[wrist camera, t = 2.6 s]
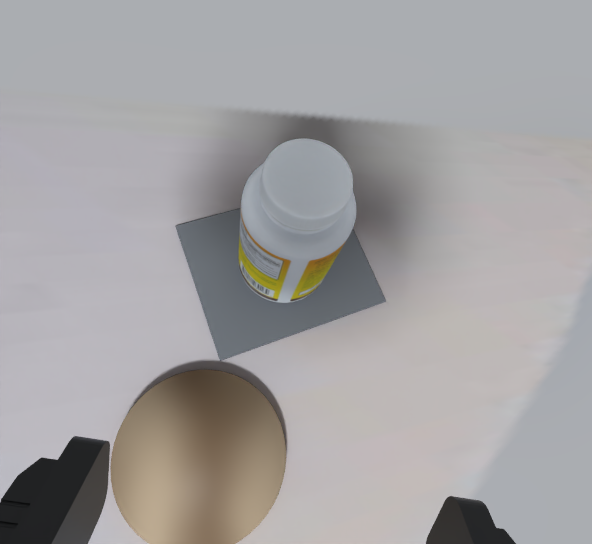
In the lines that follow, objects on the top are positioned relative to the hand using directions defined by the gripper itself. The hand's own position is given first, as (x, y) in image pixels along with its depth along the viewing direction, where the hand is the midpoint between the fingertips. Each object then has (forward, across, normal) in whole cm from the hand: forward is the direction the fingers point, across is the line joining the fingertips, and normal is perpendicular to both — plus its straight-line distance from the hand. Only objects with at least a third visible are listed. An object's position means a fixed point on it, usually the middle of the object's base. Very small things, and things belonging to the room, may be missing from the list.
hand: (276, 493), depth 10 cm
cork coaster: (+10, +2, +10) cm, 15 cm away
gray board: (+19, 0, +2) cm, 19 cm away
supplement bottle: (+19, 0, +2) cm, 19 cm away
